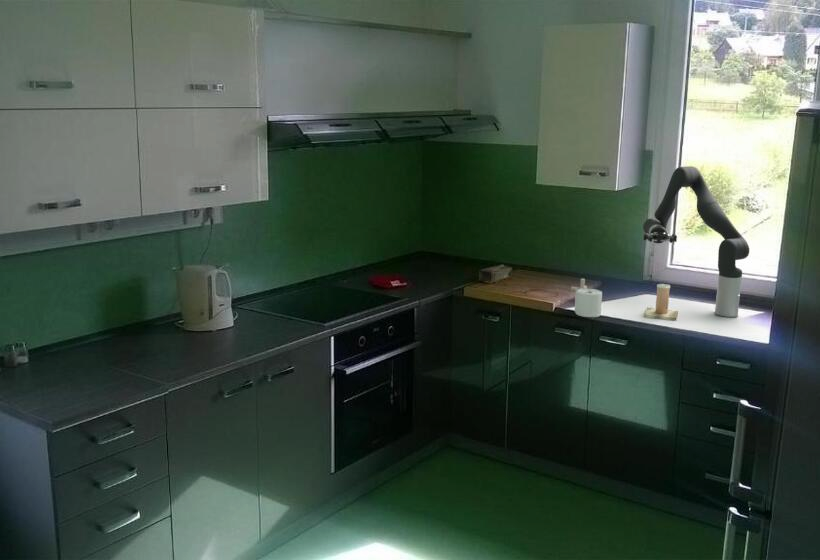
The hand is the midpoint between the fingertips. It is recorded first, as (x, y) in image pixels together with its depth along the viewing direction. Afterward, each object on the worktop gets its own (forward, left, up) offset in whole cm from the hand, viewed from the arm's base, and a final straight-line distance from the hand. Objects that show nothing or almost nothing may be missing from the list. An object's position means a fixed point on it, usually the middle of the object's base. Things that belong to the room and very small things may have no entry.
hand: (661, 240), depth 357 cm
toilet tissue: (+26, +26, -30) cm, 48 cm away
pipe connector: (+32, +4, -30) cm, 44 cm away
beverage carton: (+79, -18, -31) cm, 87 cm away
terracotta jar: (-4, +15, -29) cm, 33 cm away
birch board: (-4, +15, -30) cm, 34 cm away
